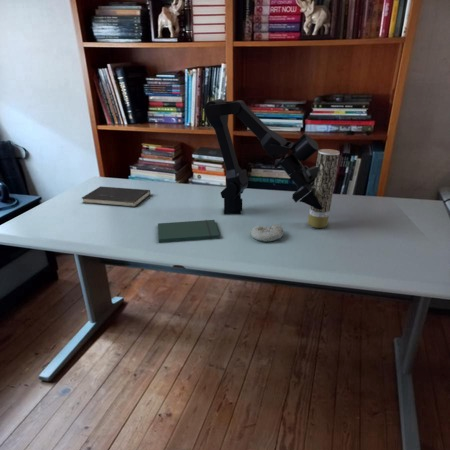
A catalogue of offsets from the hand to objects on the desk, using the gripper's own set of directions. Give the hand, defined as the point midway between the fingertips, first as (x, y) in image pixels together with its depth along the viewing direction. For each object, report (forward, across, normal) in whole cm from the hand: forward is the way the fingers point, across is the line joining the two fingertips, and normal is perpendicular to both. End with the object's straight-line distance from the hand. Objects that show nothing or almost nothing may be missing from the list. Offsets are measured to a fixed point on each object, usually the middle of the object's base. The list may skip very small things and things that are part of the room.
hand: (323, 206), depth 142 cm
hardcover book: (-55, -6, +65) cm, 85 cm away
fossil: (-4, -17, +15) cm, 23 cm away
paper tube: (+4, 0, +6) cm, 7 cm away
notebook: (-23, -24, +33) cm, 47 cm away
